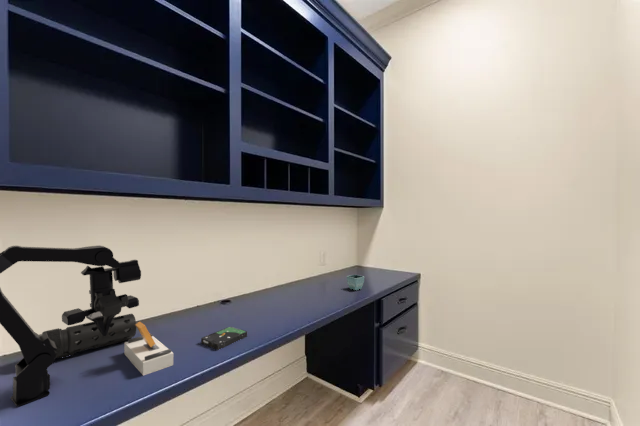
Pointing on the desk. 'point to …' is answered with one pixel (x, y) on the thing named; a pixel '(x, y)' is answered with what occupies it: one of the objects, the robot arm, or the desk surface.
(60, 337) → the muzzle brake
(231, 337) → the disk drive
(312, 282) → the desk surface
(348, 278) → the flower pot
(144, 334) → the lever
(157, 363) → the block
